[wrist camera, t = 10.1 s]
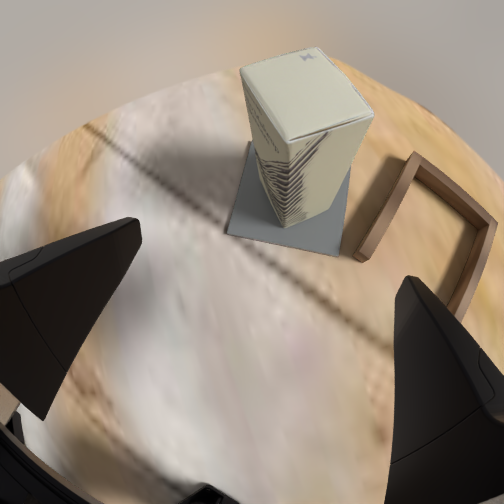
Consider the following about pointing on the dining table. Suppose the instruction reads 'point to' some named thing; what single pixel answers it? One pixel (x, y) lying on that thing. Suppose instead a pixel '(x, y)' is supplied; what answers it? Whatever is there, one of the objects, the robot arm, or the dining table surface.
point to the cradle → (458, 201)
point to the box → (303, 129)
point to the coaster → (269, 226)
